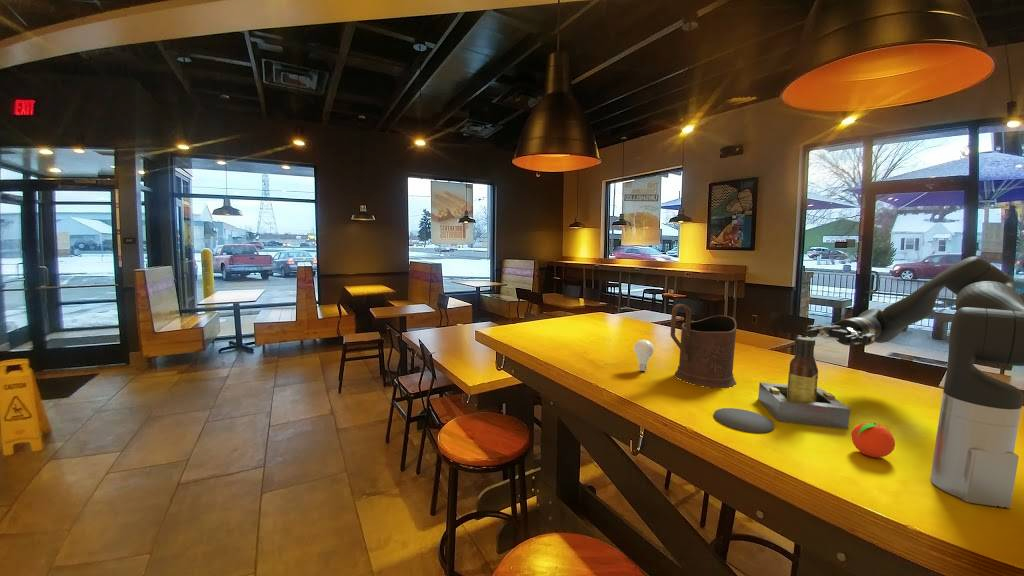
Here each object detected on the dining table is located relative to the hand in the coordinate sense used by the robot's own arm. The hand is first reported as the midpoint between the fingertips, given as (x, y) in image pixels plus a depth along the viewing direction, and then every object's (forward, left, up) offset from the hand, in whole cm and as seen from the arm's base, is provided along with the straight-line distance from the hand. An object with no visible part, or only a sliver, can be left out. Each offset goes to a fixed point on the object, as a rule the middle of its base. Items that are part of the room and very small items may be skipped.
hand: (827, 337), depth 112 cm
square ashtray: (-8, +8, -19) cm, 22 cm away
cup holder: (+13, +29, -19) cm, 37 cm away
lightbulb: (+16, +46, -19) cm, 52 cm away
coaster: (-18, +24, -19) cm, 36 cm away
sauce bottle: (-8, +8, -19) cm, 23 cm away
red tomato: (-29, +3, -19) cm, 35 cm away
